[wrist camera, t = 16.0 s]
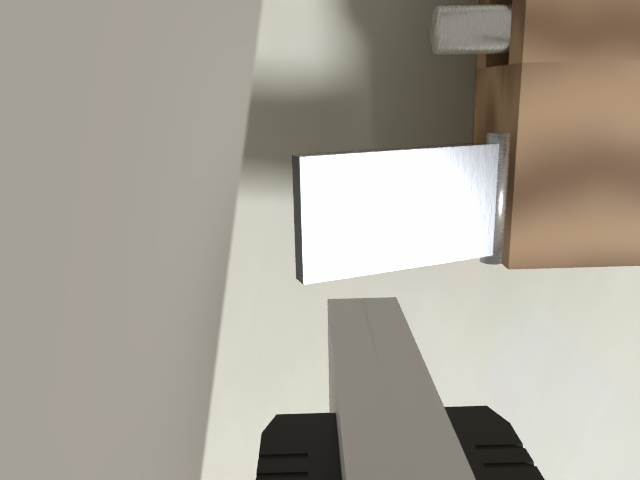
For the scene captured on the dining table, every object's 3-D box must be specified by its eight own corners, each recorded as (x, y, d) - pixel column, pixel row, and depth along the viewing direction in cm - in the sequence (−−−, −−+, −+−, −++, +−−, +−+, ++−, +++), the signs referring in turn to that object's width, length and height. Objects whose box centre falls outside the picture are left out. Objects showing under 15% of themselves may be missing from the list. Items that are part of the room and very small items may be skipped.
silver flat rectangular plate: (500, 131, 30) (291, 143, 26) (515, 133, 29) (300, 145, 25) (492, 257, 32) (295, 287, 28) (507, 262, 31) (304, 295, 27)
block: (481, -50, 35) (532, -92, 27) (642, -53, 35) (739, -95, 27) (468, 234, 39) (508, 269, 31) (611, 230, 39) (685, 264, 32)
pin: (678, -14, 34) (740, -32, 29) (667, 72, 35) (725, 69, 30) (427, -10, 34) (447, -27, 29) (425, 77, 35) (444, 75, 30)
